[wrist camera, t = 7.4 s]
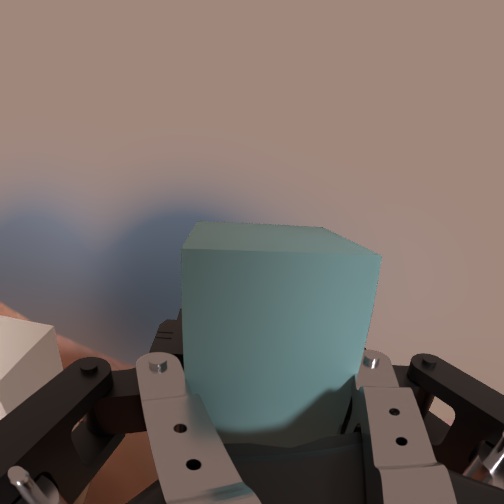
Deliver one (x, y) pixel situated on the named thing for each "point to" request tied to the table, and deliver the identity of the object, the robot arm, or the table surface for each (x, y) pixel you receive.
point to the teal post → (274, 327)
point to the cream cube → (25, 360)
